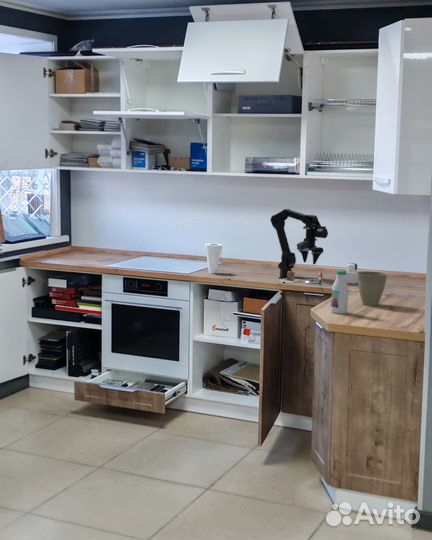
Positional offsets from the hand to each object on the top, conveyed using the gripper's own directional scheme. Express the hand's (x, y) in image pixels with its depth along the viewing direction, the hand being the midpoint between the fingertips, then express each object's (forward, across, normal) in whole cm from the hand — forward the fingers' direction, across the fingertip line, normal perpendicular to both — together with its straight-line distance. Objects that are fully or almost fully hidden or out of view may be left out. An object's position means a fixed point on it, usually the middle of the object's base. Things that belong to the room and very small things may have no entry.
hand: (309, 263), depth 455 cm
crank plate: (+11, +9, -2) cm, 14 cm away
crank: (+10, +7, -1) cm, 12 cm away
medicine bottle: (+12, +12, +22) cm, 28 cm away
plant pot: (+12, +70, -12) cm, 72 cm away
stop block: (+11, -2, -12) cm, 16 cm away
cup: (+11, -48, -38) cm, 62 cm away
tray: (+11, -2, -12) cm, 16 cm away
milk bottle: (+12, +80, -40) cm, 91 cm away
